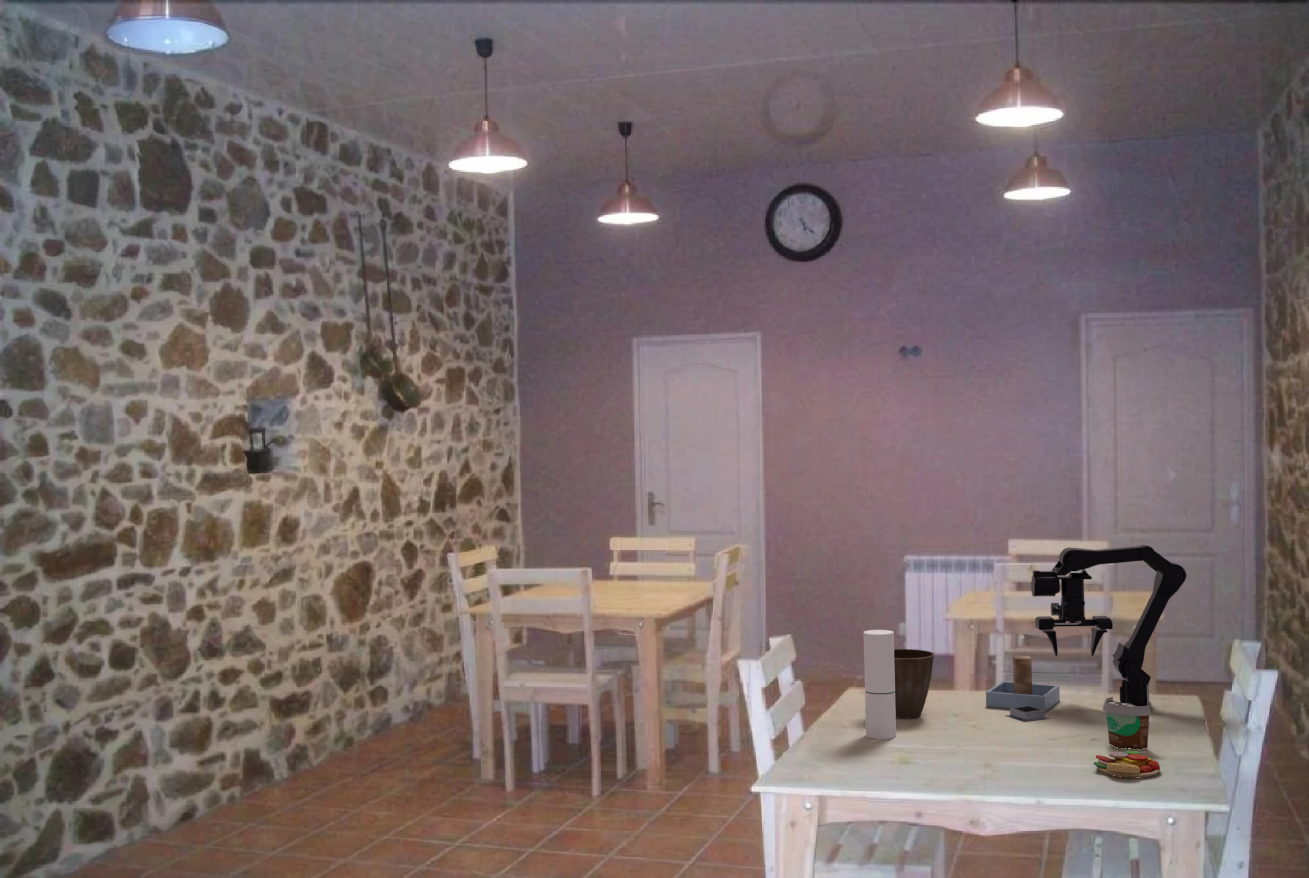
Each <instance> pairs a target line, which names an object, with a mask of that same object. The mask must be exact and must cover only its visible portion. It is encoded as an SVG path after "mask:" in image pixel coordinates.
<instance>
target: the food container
mask: <svg viewBox="0 0 1309 878" xmlns="http://www.w3.org/2000/svg"><path fill="white" fill-rule="evenodd" d="M1102 710H1103V712H1105V715H1106V724H1107V734H1108V735H1107V736H1108V744H1109V745H1110V744H1111V745H1113V746H1115V747H1114V748H1116V747H1118V748H1117V749H1120V748H1127V749H1126V750H1128V748H1131V749H1143V748H1147V749H1148V745H1149V744H1148V743H1149V730H1150V729H1149V728H1150V727H1149V725H1150V716H1152V710H1151V708H1150V705H1149V706H1135V705H1133V704H1130V703H1120V701H1119V702H1118V701H1115V700H1114V697H1113V696H1109V697H1107V698H1105V699H1104V702H1103V705H1102ZM1111 745H1110V746H1111ZM1113 746H1112V747H1113ZM1143 750H1144V749H1143Z"/></svg>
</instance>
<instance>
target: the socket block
mask: <svg viewBox="0 0 1309 878" xmlns="http://www.w3.org/2000/svg"><path fill="white" fill-rule="evenodd" d="M1004 717H1007V718H1010V719H1013V720H1017V721H1019V722H1022V723H1029V722H1035V721H1036V722H1038V721H1045V720H1051V719H1052V718H1050V717H1047V716H1046V712H1045V710H1043V709H1039V708H1036V707H1033V706H1023V707H1015V708H1010V709H1009V714H1008V715H1007V714H1005V715H1004Z"/></svg>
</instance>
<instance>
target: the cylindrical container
mask: <svg viewBox="0 0 1309 878" xmlns="http://www.w3.org/2000/svg"><path fill="white" fill-rule="evenodd" d="M894 633H895V632H894V631H893V630H887V629H870V630H864V631H863V665H864V666H863V667H864V668H863V669H864V670H863V671H864V699H865V700H864V701H865V703H864V704H865V707H864V708H865V711H864V712H865V736H866V738H868V737H869V738H868V739H872V738H873V739H874V738H875V739H874V740H891V739H895V738H897V718H896V710H895V670H894V649H895V641H894V640H895V639H894V638H895V637H894Z"/></svg>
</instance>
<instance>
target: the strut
mask: <svg viewBox="0 0 1309 878" xmlns="http://www.w3.org/2000/svg"><path fill="white" fill-rule="evenodd" d="M1012 668H1013V669H1012V673H1013V674H1012V676H1013V682H1014V694H1025V695H1032V684H1033V678H1032V677H1033V675H1032V674H1033V671H1032V668H1033V667H1032V657H1031V656H1029V655H1013V656H1012Z"/></svg>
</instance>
